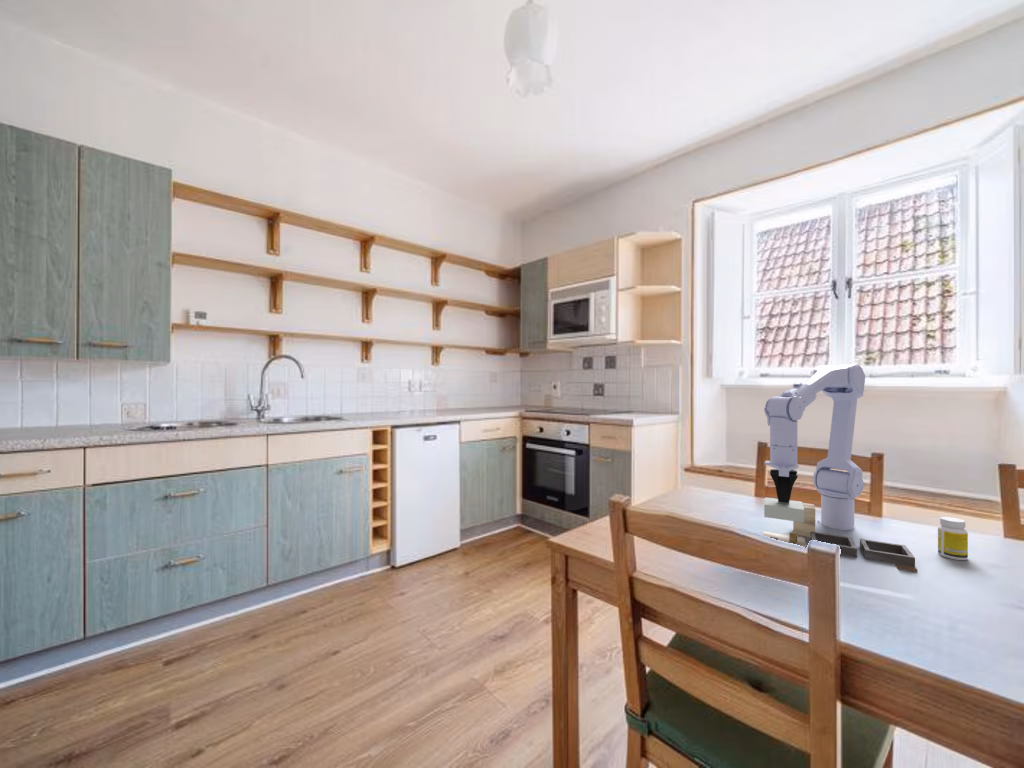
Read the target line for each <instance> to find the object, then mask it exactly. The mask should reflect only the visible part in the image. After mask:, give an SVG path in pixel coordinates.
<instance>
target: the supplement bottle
mask: <svg viewBox="0 0 1024 768" xmlns="http://www.w3.org/2000/svg"><path fill="white" fill-rule="evenodd" d="M939 524H940V525H937V553H938V555H940V556H942V557H944V558H948V559H951V560H955V561H956V560H957V561H966V560H968V559H969V557H968V556H969V548H968V547H969V545H968V544H969V542H968V541H969V537H968V536H969V532H968V530H967V529H966V521H965V520H964V519H961V518H957V517H949V516H941V517H940V518H939Z"/></svg>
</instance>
